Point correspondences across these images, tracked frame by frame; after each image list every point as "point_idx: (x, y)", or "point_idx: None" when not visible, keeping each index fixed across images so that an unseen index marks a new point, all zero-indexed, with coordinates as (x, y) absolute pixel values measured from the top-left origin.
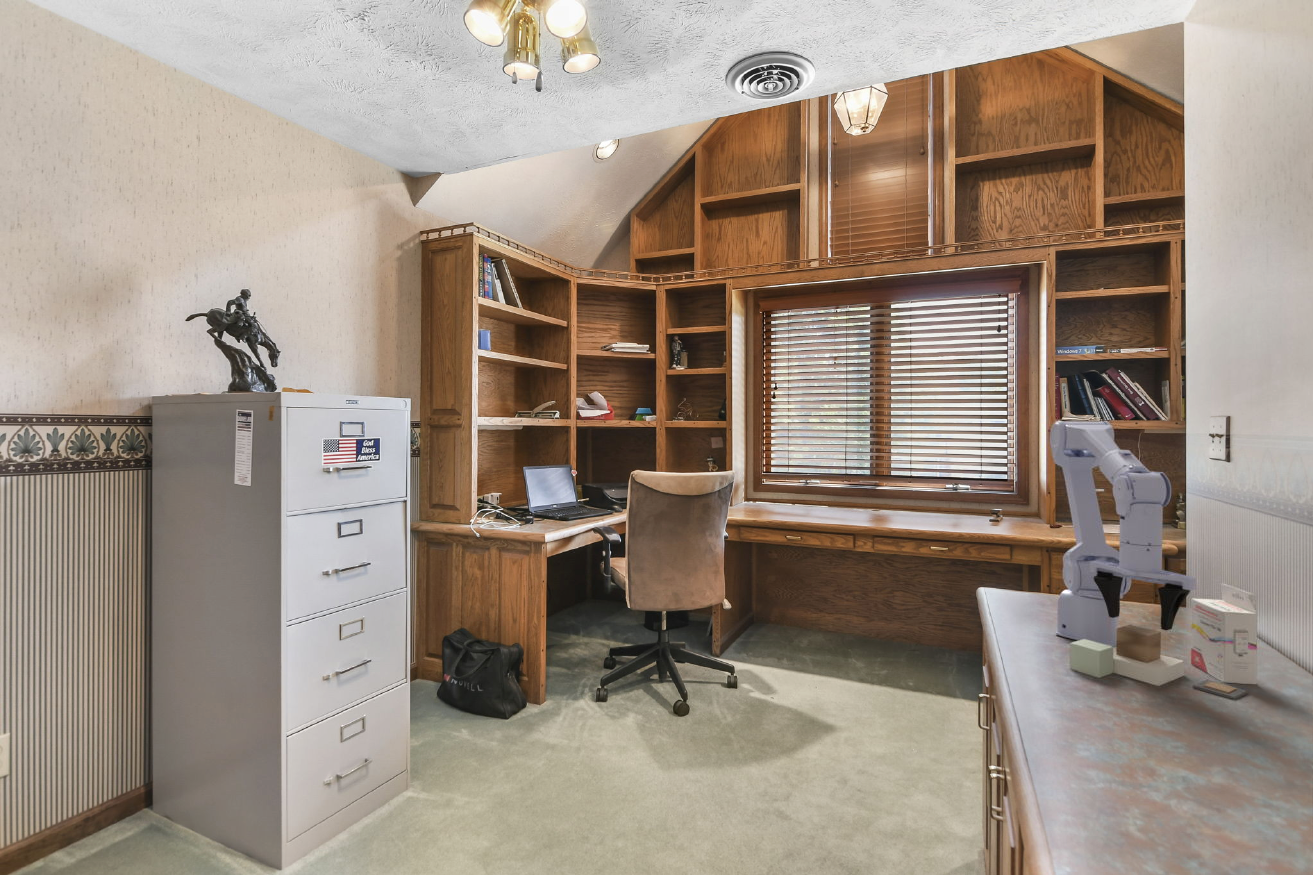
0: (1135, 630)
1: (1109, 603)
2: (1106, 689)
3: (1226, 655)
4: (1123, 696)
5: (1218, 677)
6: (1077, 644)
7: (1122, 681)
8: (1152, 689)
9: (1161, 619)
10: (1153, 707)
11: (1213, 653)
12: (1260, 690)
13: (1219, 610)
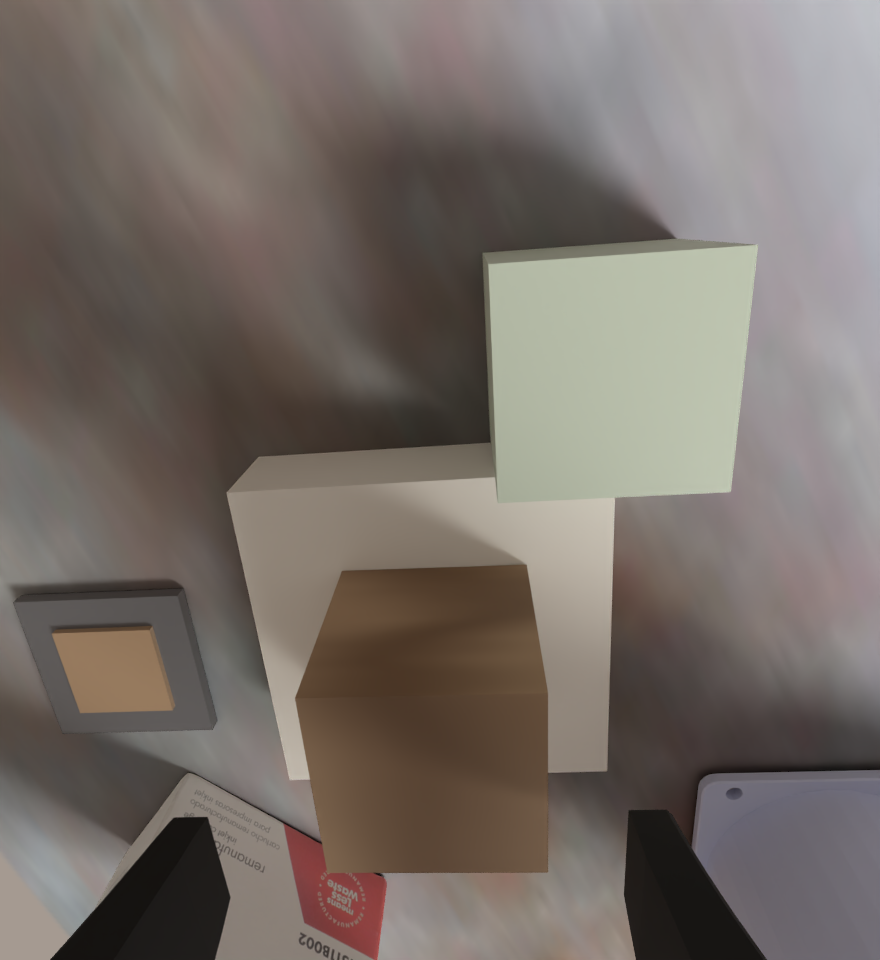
0: (435, 763)
1: (707, 954)
2: (330, 53)
3: None
4: (206, 31)
5: (218, 797)
6: (693, 266)
7: (379, 331)
8: (232, 365)
9: (145, 901)
10: (17, 23)
11: None
12: (84, 798)
13: None
